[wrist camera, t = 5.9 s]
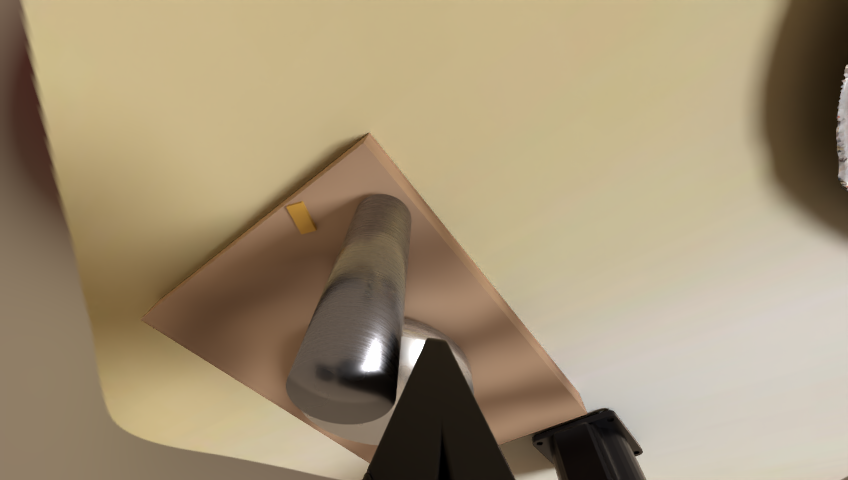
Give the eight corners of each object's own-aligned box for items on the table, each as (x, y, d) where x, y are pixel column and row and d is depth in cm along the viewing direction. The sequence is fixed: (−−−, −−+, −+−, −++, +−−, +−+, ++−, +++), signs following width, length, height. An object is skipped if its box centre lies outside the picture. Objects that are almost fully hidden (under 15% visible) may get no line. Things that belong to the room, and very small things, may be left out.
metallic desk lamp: (461, 429, 22) (476, 603, 16) (310, 423, 22) (258, 596, 15) (506, 200, 14) (584, 367, 7) (257, 187, 14) (83, 346, 7)
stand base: (578, 393, 23) (588, 416, 22) (398, 460, 29) (397, 483, 27) (369, 132, 14) (362, 144, 13) (159, 300, 19) (137, 322, 18)
